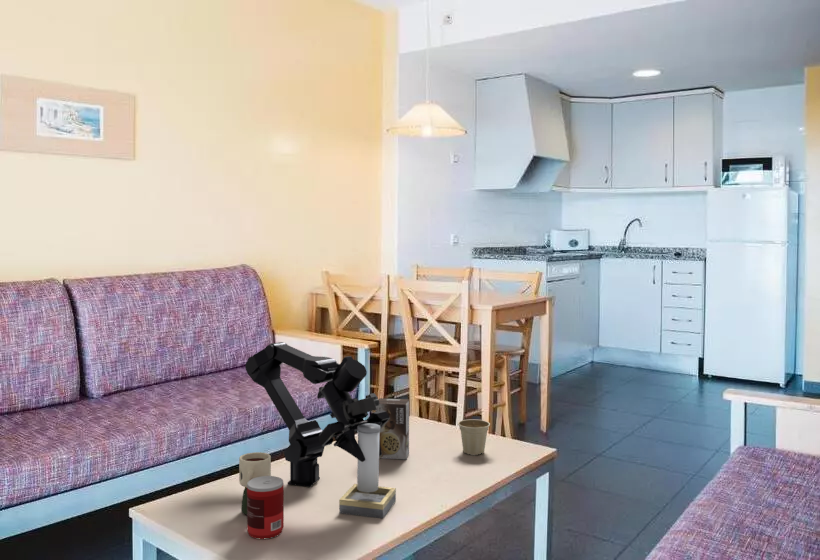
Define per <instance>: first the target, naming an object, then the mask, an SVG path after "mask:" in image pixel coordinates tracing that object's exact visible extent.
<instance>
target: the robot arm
mask: <svg viewBox="0 0 820 560" xmlns="http://www.w3.org/2000/svg"><path fill="white" fill-rule="evenodd" d="M282 364H285V365H287V366H288V367H292V368H293V369H295V370H298V371H299V372H301V373H302V375H303V377H304V378H305V379H306V380H307V381H308V382H310V383H312V384H313V385H318V384H322V383H325V384H324V385H323V386H320V387H318V392H317V394H316V395H317V396H316V397H317V399H319V400H320V399H325V401H326V403H327V405H328V407H329V409H330V410H331V413H330V414H329V416H330V418H331V419H334V418H335V420H336V421H335V422H331V423H328V424H326V426H325V427H324V429H322V428H321V427H320V424H319V422H318V421H317V420H316V419H314V420H308V419H306V417H305V415H304V414H303V411H301V408H299V406H298V404H297V402H296V401H295V399H294V398H293V396H292V394H291V393H290V391H289V389H288V387H287V386H286V385H285V383H284V382H283V379H282V377H281V372H282V371H281V370H282V368H281V365H282ZM244 369H245V371H246V373H247V375H248V376H249V377H250V379H251V380H252V381H253V382H254V383H255V384H257V385H259V386H261V387H263V388H264V390H265V391H266V393H267V396H269V398H270V400H271V402H272V403H273V405H274V407H275V408H276V410H277V411H278V414H279V415H280V417H281V419H282V420H283V422H284V424H285V425H286V428H287V429H288V443H289V445H288V446H287V448H286V449H285V450H284V452H283V455H284V459H285V461H287V462H289V463H290V464H289V465H290V466H289V467H290V469H289V470H290V473H289V474H290V475H289V477H290V478H289V481H288V482H287V485H289V486H290V485H291V486H297V487H298V486H299V487H309V488H310V487H313V486H314V485H315V484H316V483H317V482H319V480H321V479H320V464H319V463H318V458H323V454H324V450H325V447H327V446H330V445H332V444H333V446H334V447H338V448H340V449H341V450H343V451H345V452H346V453H348V454H349V455H351V456H353V457H354V458H355V459H356V460H357V461H358V460H360V461H361V462H364V461H365V457H364V455H363V452H362V451H361V449H360V447H359V445H358V440H357V439H356V433H355V432H358V431H357V426H358V425H360V424H365V423H372V424H378V425H380V429H381V428H382V427H383V426H384V424H385V423H386V422H387V421H388V420H389V419H390V417H389V415H388V414H387V412H386V411H383V410H382V411H378V412H376V410H377V408H376V406H379V399H380V398H379V397H378V396H377V394H375V393H374V392H373V393H369V394H367V395H365V398H362V399H359V398H356V397H355V398H353V397H352V395H351V392H353V391H354V390H356V388H357V386H358V385H359V384H360V383H361V382H362V381H363V380H364V379H365V377H366V376H367V373H368V371H367V369H366V366H365V364H363V363H361V362H360V361H359V360H357V359H354V358H353V357H352V355H350V356H349V355H348V356H344V357H343V358H342V360H341V362H340V363H339V362H337V361H336V359H334V358H333V357H328V356H317V355H315V356H314V355H312V354H309V353H307V352H304V351H302V350H300V349H298V348H295V347H293V346H291V345H289V344H288V343H286V342H284V341H279V342H272V343H269V344H268V345H266V346H265V347H264V348H263V349H261V350H260V351H258V352H256V353H254V354H253V355H251V356H250V357H248V359H247V360H246V362H245V368H244ZM372 411H374V412H372ZM369 412H372V413H371V414H370V415H369ZM367 416H368V418H367ZM365 418H366V419H365ZM334 440H335V442H334V443H333V441H334ZM381 455H382V452H381V446H380V441H379V457H380V456H381Z"/></svg>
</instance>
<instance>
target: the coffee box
mask: <svg viewBox="0 0 820 560" xmlns="http://www.w3.org/2000/svg"><path fill="white" fill-rule="evenodd" d="M378 399H379V406H376V408H377V410H375V412H378V411H382V410H383V411H386V412H387V414H388V415H389V417H390V419H389V420H388V421H387V422H386V423H385V424H384V426H383V427H382V428H381V429H380V434H379V441H380V446H381V452H382V455H381V456H380V457H379V459H388V460H389V459H392V460H407V459H408V457H409V455H410V398H409V399H407V398H385V397H384V398H383V397H382V398H381V397H380V398H378Z"/></svg>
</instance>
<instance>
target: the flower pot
mask: <svg viewBox="0 0 820 560" xmlns="http://www.w3.org/2000/svg"><path fill="white" fill-rule="evenodd" d="M457 425H458V426H459V430H460V436H461V443H462V444H461V445H462V452H463V453H464V454H467V455H469V454H471V455H470V456H478V454H479V455H480V454H481V453H482V455H483V454H484V453H485V448H486V443H487V442H486V441H487V435H488V434H487V433H488V431H489V427H490V426H491V423H490V422H489V421H486V420H483V419H477V418H476V419H473V418H472V419H464V420H463V419H462V420H460V421H458V422H457Z"/></svg>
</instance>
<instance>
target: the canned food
mask: <svg viewBox="0 0 820 560" xmlns="http://www.w3.org/2000/svg"><path fill="white" fill-rule="evenodd" d="M284 486H285V485H284V479H283V478H281V477H279V476H275V475H271V476H261V477H257V478H254V479H251V480H250V481H249V482H248V483H247V514H246V520H247V522H246V524H247V525H246V530H247V534H248V536H249V537H251V538H252V539H256V538H260V539H259V540H265V539H264V538H269V539H272V538H271V537H273V538H276V537H278V536H279V535H280V533H281V534H282V533H283V530H284V524H285V523H284V520H285V518H284V517H285V515H284V512H285V509H284V508H285V507H284V506H285V502H284V500H285V499H284V497H285V495H284V494H285V491H284V490H285V489H284ZM277 535H278V536H277ZM275 536H276V537H275Z"/></svg>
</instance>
